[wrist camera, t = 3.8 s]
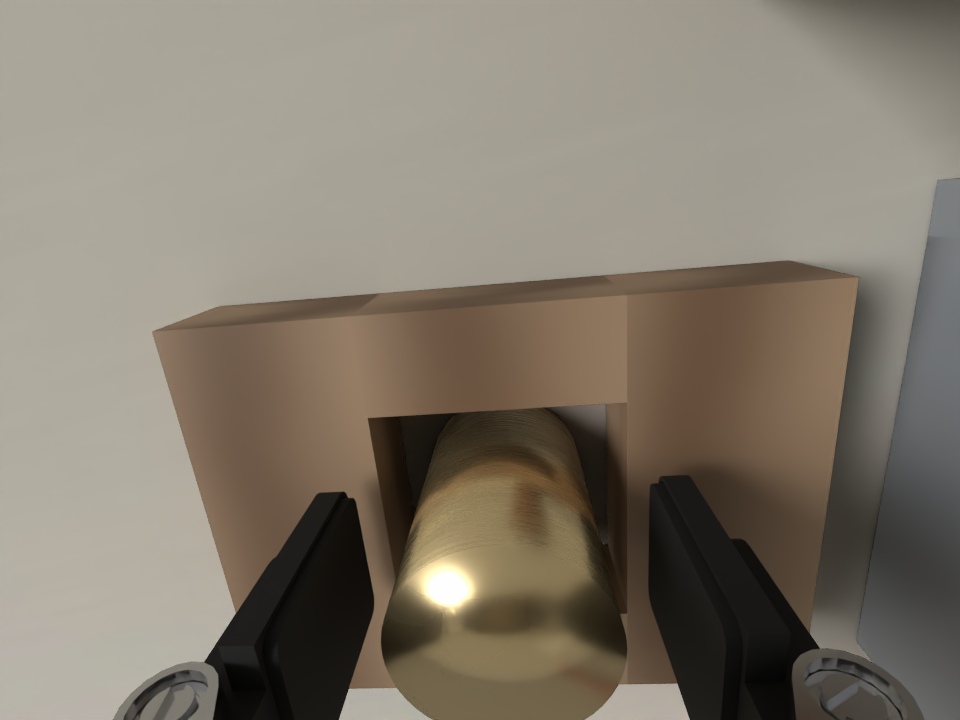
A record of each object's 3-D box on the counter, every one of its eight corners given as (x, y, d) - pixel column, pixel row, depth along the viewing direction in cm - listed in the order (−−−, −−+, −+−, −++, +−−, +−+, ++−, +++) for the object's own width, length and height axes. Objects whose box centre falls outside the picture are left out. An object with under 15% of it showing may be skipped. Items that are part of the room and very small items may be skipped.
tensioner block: (788, 260, 12) (859, 277, 9) (755, 603, 15) (802, 681, 12) (217, 306, 13) (151, 331, 11) (296, 616, 16) (259, 689, 14)
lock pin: (575, 392, 13) (627, 544, 7) (580, 522, 14) (627, 739, 9) (424, 402, 13) (362, 554, 8) (441, 528, 15) (398, 740, 9)
